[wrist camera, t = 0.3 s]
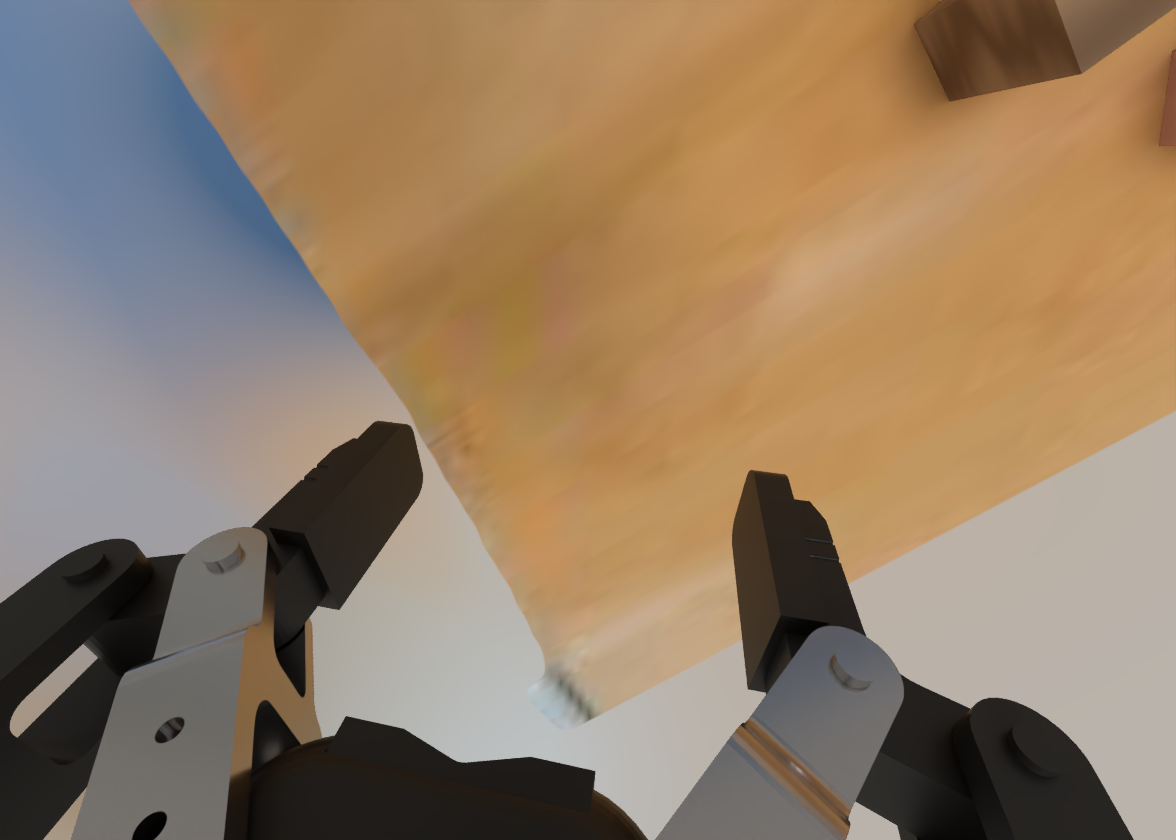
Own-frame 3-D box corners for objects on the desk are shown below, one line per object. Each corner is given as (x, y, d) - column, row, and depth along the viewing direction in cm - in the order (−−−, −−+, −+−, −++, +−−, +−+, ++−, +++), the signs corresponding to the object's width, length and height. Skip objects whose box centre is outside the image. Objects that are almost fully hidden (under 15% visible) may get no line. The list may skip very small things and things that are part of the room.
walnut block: (913, 24, 27) (1039, -42, 18) (1008, -56, 25) (1199, -174, 16) (949, 101, 28) (1081, 73, 20) (1041, 31, 27) (1232, -34, 18)
